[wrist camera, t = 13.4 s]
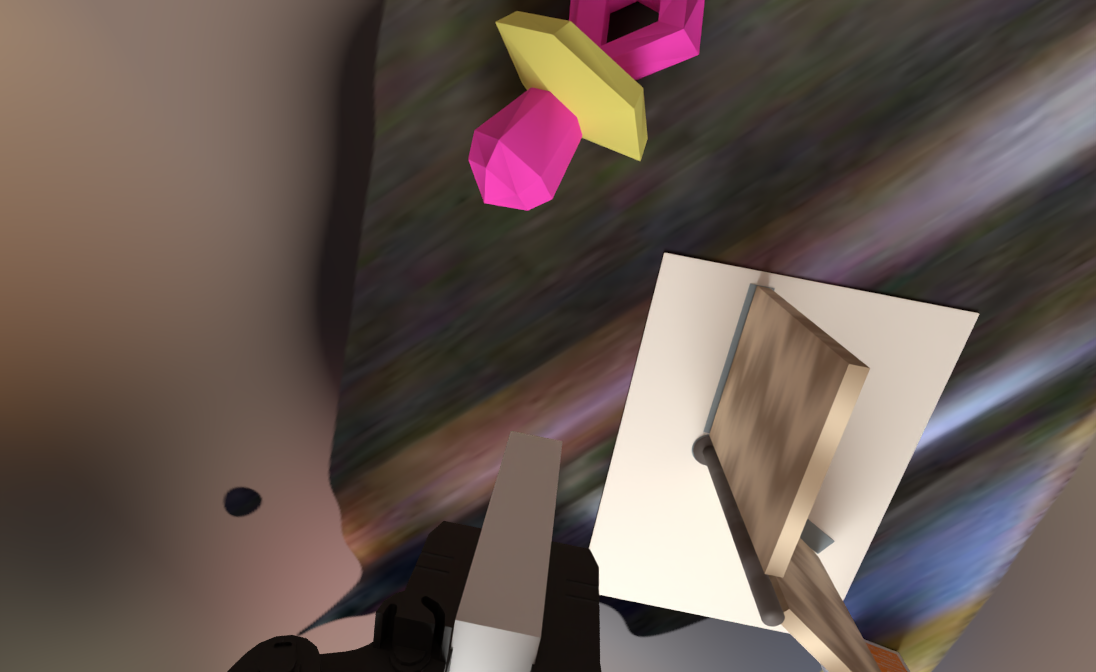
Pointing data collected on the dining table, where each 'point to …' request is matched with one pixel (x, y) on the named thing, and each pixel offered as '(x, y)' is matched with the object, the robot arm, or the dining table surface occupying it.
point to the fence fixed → (777, 436)
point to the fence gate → (820, 615)
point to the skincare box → (885, 659)
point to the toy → (575, 93)
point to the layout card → (688, 413)
